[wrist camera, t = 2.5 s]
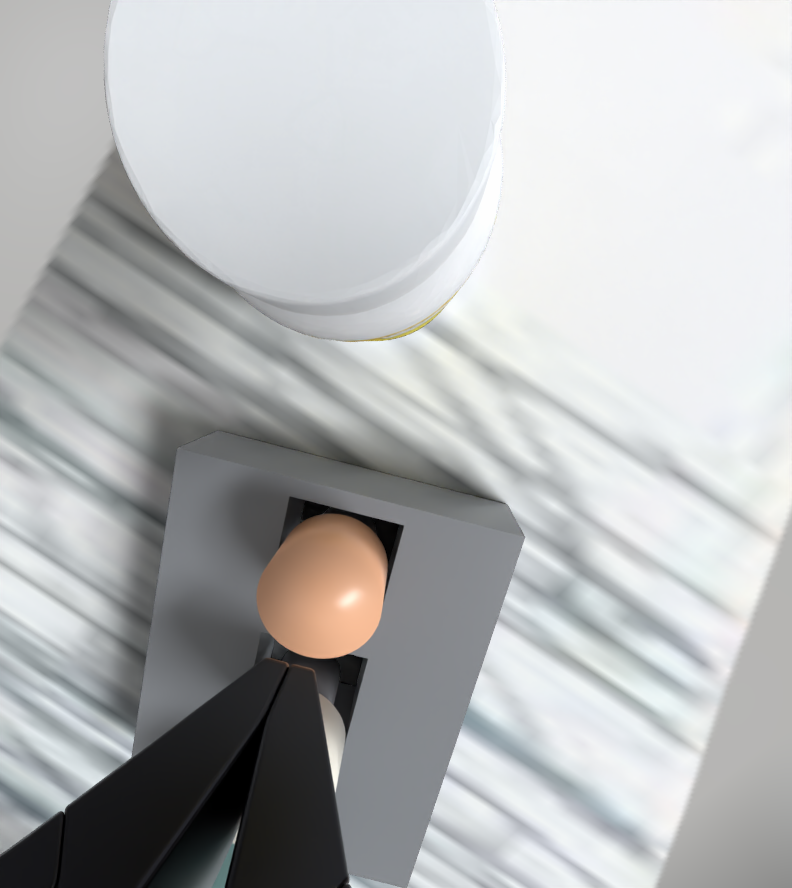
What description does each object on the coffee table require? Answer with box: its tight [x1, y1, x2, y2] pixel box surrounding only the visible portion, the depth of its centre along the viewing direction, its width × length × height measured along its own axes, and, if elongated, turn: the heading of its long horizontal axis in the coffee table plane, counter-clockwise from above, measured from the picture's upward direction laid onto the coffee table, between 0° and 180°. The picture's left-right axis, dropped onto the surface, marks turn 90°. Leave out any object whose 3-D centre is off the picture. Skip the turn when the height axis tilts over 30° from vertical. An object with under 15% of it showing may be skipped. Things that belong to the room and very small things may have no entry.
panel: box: [131, 431, 525, 888], centre depth 14 cm, size 12×9×2 cm
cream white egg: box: [232, 650, 346, 844], centre depth 12 cm, size 3×3×4 cm
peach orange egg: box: [256, 507, 388, 659], centre depth 12 cm, size 3×3×4 cm
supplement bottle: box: [104, 0, 506, 342], centre depth 9 cm, size 5×5×8 cm
